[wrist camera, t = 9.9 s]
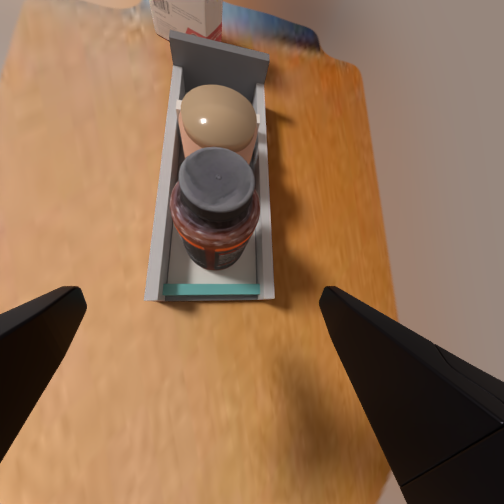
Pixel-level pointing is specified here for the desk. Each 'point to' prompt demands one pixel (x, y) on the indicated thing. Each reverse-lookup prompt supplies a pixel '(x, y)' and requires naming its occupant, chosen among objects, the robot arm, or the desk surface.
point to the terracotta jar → (217, 121)
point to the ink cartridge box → (188, 17)
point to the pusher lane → (164, 231)
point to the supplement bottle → (215, 206)
